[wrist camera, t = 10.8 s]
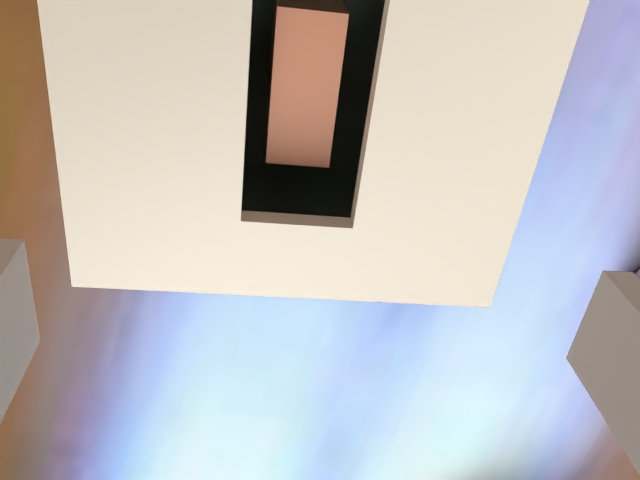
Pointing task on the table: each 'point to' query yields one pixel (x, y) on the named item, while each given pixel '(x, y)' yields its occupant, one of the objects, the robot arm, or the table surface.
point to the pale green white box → (295, 180)
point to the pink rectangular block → (304, 80)
